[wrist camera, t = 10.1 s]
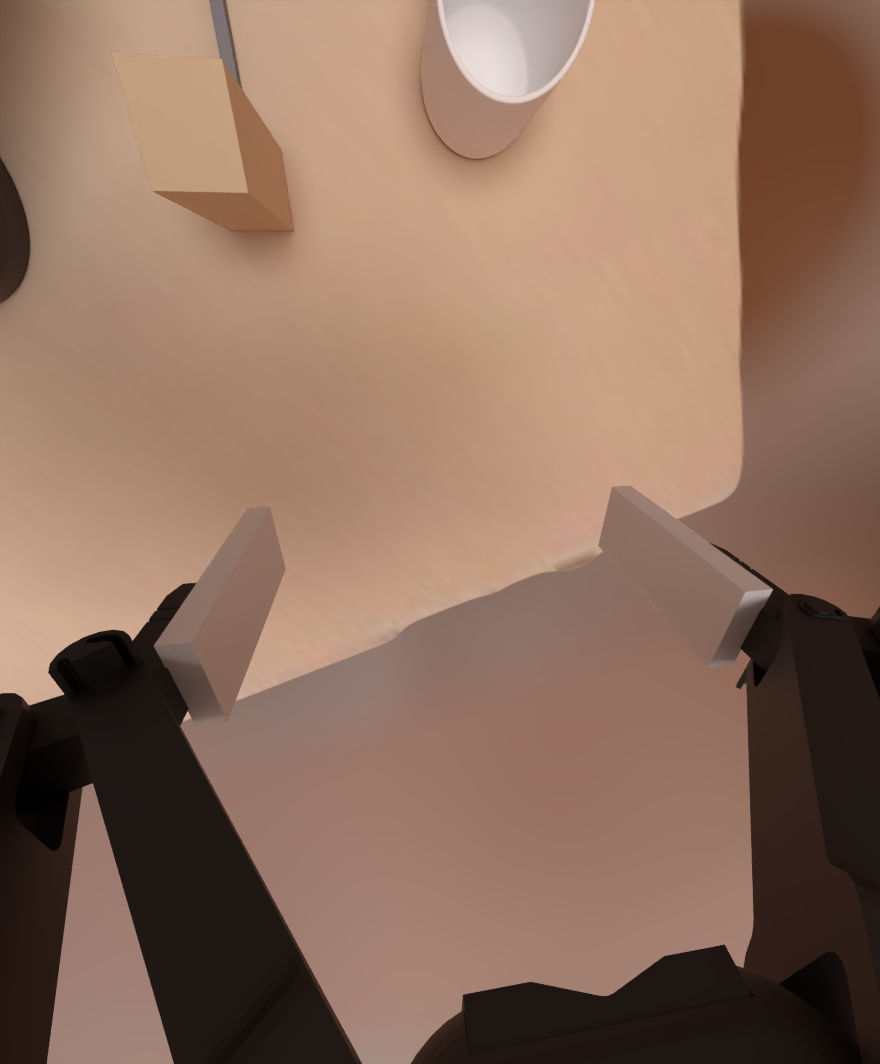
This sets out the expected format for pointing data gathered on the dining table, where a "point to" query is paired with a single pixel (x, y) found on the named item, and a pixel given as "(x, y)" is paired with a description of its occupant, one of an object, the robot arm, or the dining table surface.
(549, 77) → the cup
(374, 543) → the dining table surface
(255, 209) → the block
